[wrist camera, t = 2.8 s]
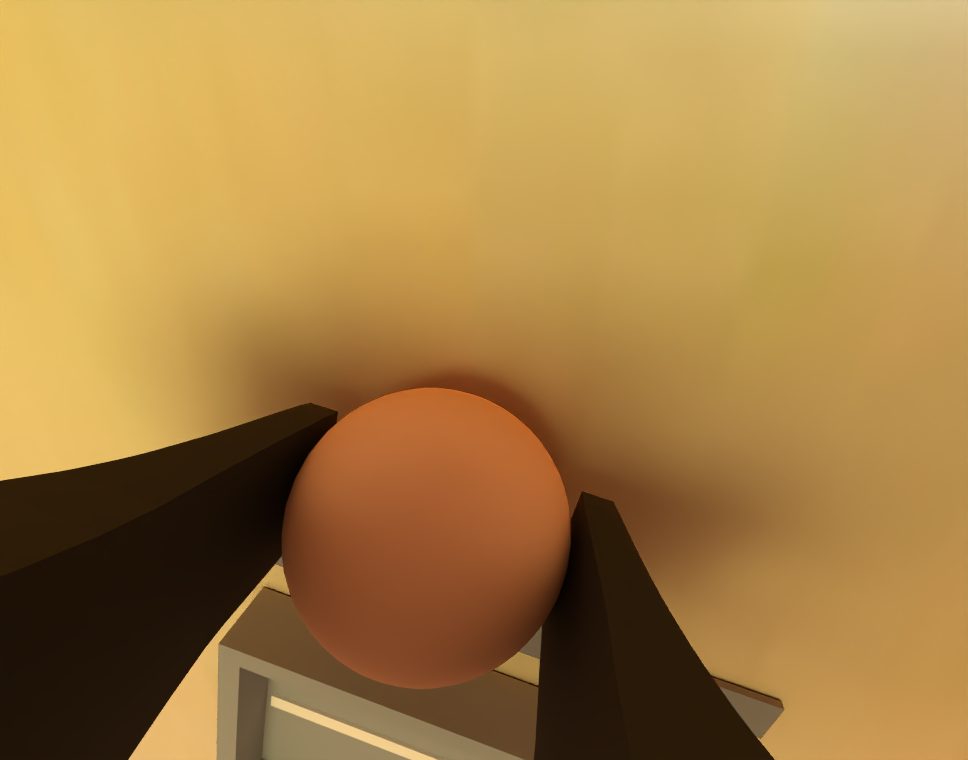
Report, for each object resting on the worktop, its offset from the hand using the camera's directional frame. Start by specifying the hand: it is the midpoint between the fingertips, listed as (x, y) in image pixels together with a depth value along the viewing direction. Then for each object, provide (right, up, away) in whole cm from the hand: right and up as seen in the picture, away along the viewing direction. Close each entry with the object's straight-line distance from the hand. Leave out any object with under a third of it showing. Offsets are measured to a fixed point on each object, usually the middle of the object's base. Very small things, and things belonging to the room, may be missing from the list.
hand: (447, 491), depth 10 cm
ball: (0, 0, -1) cm, 1 cm away
